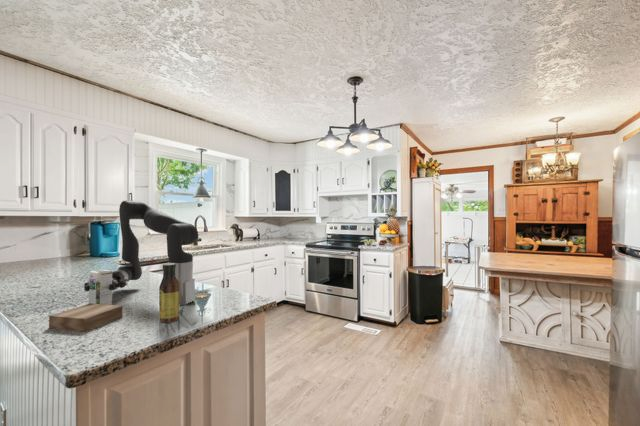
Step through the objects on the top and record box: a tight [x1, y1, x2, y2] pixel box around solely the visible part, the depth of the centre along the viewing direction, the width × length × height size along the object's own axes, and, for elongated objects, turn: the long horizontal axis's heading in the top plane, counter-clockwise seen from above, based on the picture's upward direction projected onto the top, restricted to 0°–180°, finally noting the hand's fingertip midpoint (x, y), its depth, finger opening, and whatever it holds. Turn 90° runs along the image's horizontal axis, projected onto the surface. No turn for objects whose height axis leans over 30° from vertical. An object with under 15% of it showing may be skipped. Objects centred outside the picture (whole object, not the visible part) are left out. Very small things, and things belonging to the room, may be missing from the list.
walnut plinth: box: [48, 303, 123, 332], centre depth 102 cm, size 14×14×4 cm
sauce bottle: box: [158, 262, 180, 323], centre depth 104 cm, size 6×6×20 cm
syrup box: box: [88, 269, 113, 305], centre depth 119 cm, size 6×6×14 cm
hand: (98, 288), depth 117 cm, fingers closed on syrup box, 7 cm apart
